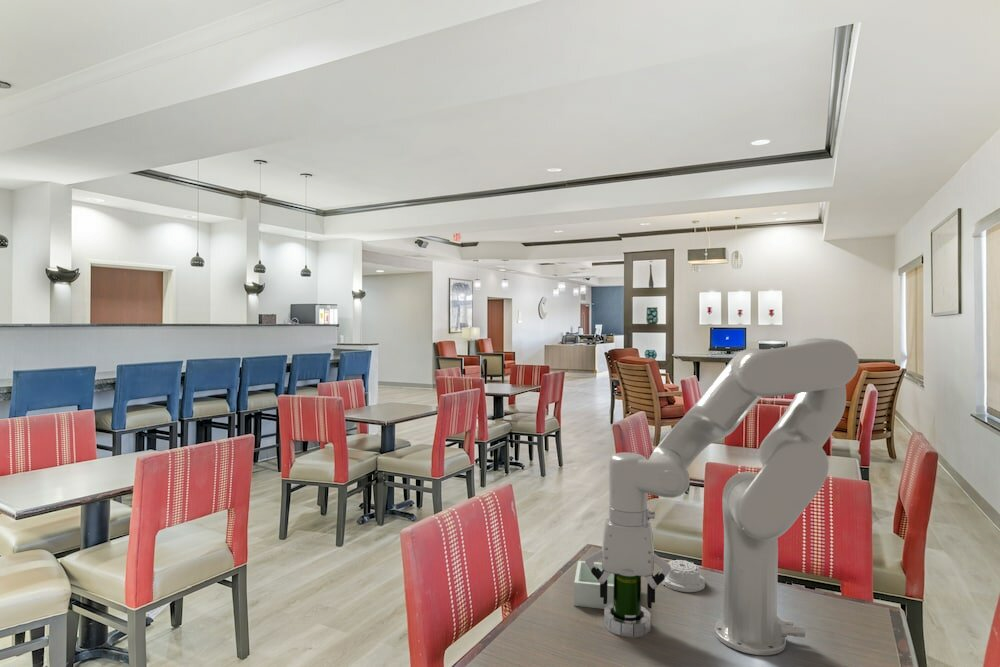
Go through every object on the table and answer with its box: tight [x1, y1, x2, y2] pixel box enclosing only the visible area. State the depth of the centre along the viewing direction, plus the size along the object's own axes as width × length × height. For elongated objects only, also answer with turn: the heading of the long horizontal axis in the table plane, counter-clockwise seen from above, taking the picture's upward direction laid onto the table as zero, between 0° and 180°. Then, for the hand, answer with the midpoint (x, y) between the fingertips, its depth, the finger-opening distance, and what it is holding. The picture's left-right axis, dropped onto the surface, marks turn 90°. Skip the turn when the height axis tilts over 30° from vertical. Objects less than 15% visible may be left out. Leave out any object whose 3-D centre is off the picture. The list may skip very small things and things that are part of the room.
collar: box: [603, 603, 652, 638], centre depth 117 cm, size 9×9×2 cm
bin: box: [573, 560, 614, 610], centre depth 130 cm, size 12×12×5 cm
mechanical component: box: [660, 559, 706, 593], centre depth 137 cm, size 10×4×10 cm
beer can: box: [613, 570, 642, 621], centre depth 117 cm, size 5×5×12 cm
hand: (627, 602), depth 117 cm, fingers open, 8 cm apart
